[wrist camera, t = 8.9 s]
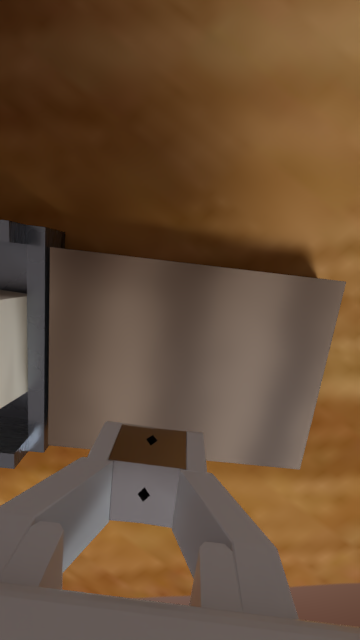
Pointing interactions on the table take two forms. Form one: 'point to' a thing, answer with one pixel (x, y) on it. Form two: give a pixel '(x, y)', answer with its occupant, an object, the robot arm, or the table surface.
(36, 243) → the box
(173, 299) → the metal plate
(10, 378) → the block
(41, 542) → the robot arm
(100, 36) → the table surface
